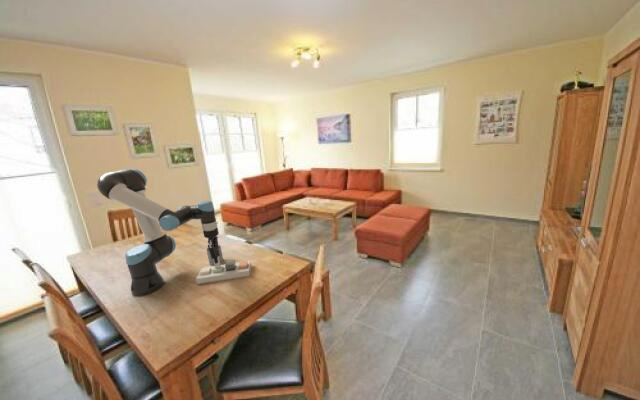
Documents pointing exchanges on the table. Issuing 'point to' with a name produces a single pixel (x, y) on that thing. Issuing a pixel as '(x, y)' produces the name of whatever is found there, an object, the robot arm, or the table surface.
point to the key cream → (205, 271)
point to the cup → (211, 257)
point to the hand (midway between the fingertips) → (218, 267)
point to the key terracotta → (243, 265)
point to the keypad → (224, 274)
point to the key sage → (218, 269)
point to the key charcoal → (230, 265)
